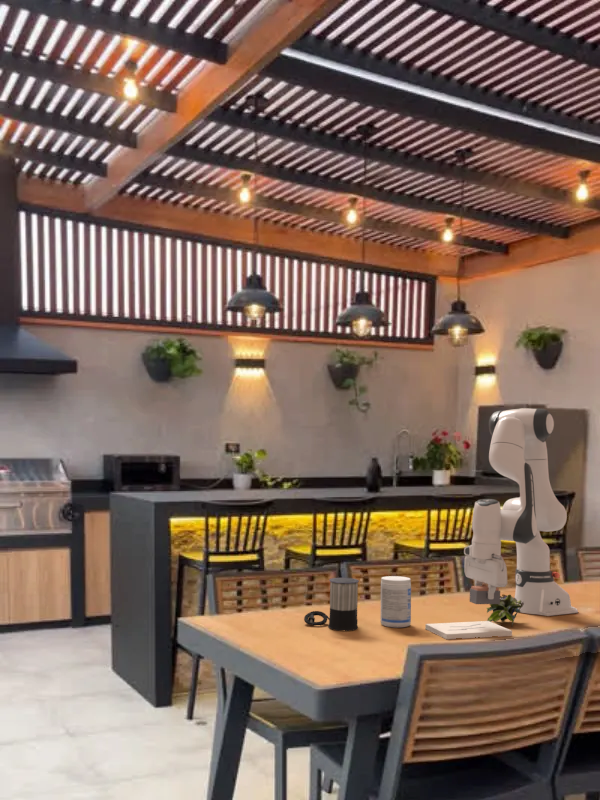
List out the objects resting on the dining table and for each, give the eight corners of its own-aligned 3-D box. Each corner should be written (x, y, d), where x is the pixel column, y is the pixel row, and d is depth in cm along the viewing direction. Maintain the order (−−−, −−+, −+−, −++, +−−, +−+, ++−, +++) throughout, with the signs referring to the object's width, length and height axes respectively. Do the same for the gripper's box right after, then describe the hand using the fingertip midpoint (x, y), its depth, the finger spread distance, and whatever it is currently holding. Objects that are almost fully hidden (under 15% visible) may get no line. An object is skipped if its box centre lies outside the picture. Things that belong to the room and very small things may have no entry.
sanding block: (492, 601, 262) (493, 585, 262) (499, 603, 257) (500, 588, 258) (469, 601, 260) (469, 585, 260) (476, 604, 255) (476, 588, 256)
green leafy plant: (502, 638, 273) (518, 606, 277) (520, 639, 263) (536, 606, 267) (475, 619, 272) (491, 587, 276) (492, 619, 262) (508, 586, 266)
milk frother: (361, 631, 255) (362, 582, 256) (310, 632, 252) (311, 582, 253) (350, 621, 269) (350, 574, 270) (301, 622, 266) (302, 575, 267)
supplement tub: (415, 628, 261) (415, 580, 262) (386, 628, 259) (386, 580, 259) (404, 621, 270) (404, 575, 271) (376, 622, 268) (377, 575, 269)
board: (488, 625, 267) (488, 620, 267) (512, 635, 253) (512, 630, 253) (425, 628, 260) (425, 623, 260) (446, 639, 247) (446, 634, 247)
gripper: (513, 556, 250) (512, 603, 250) (478, 547, 270) (477, 591, 269) (494, 556, 249) (493, 603, 248) (461, 547, 268) (460, 591, 267)
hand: (484, 597), depth 259 cm, fingers closed on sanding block, 5 cm apart
